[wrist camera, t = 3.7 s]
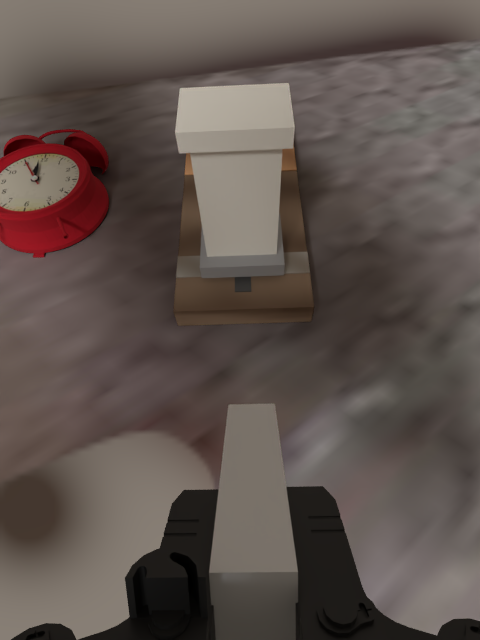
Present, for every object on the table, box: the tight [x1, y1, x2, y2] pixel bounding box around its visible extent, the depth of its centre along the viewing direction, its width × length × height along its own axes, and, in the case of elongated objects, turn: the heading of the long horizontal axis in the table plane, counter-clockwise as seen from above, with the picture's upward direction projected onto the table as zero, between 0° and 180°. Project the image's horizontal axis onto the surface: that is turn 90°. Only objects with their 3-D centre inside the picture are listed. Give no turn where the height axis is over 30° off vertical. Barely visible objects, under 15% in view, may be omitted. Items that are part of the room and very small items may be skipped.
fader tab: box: [175, 83, 295, 278], centre depth 27 cm, size 5×6×11 cm
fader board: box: [173, 144, 314, 326], centre depth 36 cm, size 24×10×2 cm, turn 1°
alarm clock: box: [0, 129, 109, 258], centre depth 37 cm, size 10×6×15 cm
